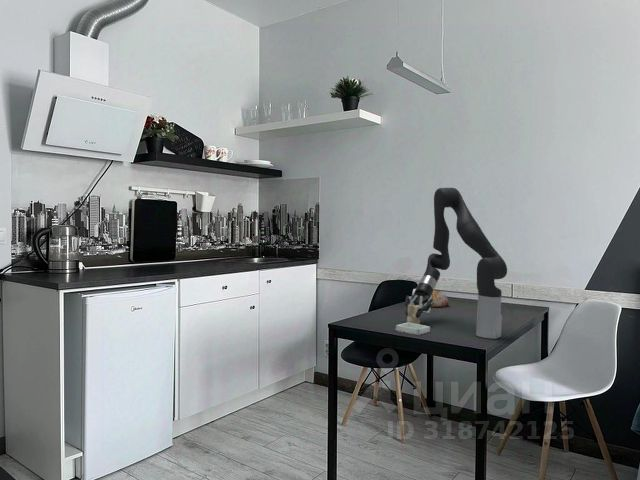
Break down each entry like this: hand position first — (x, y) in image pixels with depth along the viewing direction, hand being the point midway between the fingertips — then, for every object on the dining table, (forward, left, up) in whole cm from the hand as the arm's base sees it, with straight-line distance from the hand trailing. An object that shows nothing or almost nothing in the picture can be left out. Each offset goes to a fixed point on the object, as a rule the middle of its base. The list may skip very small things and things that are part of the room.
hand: (411, 315), depth 225 cm
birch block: (0, -2, -5) cm, 5 cm away
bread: (+22, -63, -5) cm, 67 cm away
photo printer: (+16, -38, -5) cm, 41 cm away
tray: (-6, +9, -5) cm, 12 cm away
